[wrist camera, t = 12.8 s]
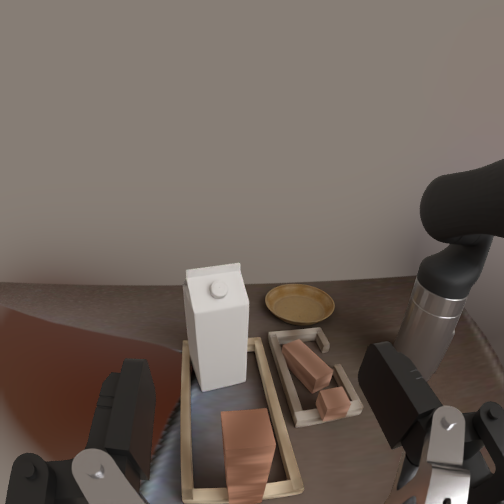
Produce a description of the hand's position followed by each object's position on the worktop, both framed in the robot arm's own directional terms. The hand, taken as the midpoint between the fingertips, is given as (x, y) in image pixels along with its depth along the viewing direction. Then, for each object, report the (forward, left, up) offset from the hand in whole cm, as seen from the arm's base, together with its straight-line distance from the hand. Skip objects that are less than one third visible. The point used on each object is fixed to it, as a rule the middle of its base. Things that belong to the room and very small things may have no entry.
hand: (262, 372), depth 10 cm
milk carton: (+1, -26, -28) cm, 38 cm away
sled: (0, -17, -27) cm, 33 cm away
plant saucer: (-17, -43, -28) cm, 54 cm away
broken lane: (-14, -23, -28) cm, 39 cm away
